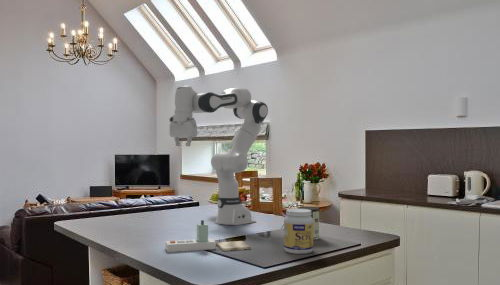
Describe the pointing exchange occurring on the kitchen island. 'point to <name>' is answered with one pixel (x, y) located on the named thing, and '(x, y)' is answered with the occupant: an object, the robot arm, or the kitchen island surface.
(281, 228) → the lily
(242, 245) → the coaster
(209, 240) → the power strip
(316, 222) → the coffee can
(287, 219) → the supplement tub
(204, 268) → the kitchen island surface
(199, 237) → the grey-green tall block
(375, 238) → the kitchen island surface
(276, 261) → the kitchen island surface
